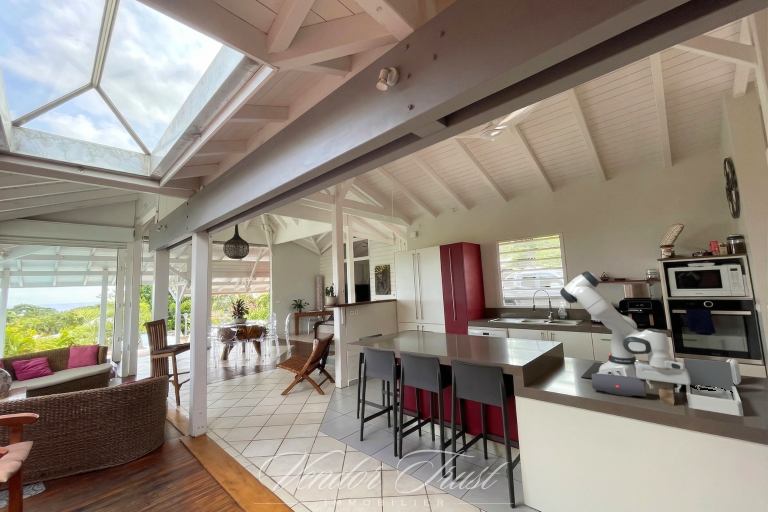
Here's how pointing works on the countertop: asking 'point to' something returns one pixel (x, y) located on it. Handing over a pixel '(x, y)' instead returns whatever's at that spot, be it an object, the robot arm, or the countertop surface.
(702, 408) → the white open box
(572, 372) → the countertop surface
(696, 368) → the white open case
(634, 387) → the bluetooth speaker
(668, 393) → the brown wooden block
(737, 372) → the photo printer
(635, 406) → the countertop surface
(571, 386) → the countertop surface
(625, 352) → the robot arm
